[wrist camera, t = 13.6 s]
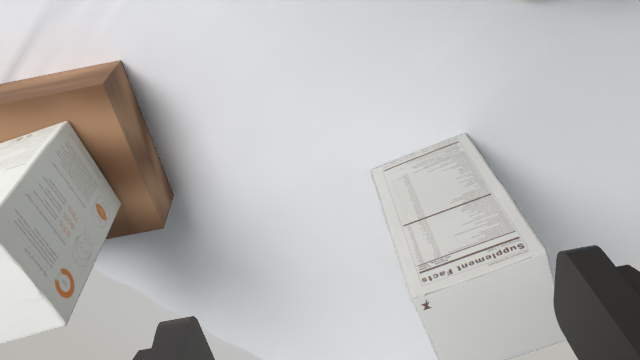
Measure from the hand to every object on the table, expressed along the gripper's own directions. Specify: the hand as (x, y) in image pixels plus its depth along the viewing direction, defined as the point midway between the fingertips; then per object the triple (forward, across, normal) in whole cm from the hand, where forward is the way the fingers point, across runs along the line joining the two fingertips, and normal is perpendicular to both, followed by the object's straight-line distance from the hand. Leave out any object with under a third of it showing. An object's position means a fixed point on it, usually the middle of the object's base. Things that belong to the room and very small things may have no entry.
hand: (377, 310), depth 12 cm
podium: (+33, +22, +9) cm, 41 cm away
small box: (+28, +22, +9) cm, 37 cm away
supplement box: (+33, -8, +20) cm, 40 cm away
